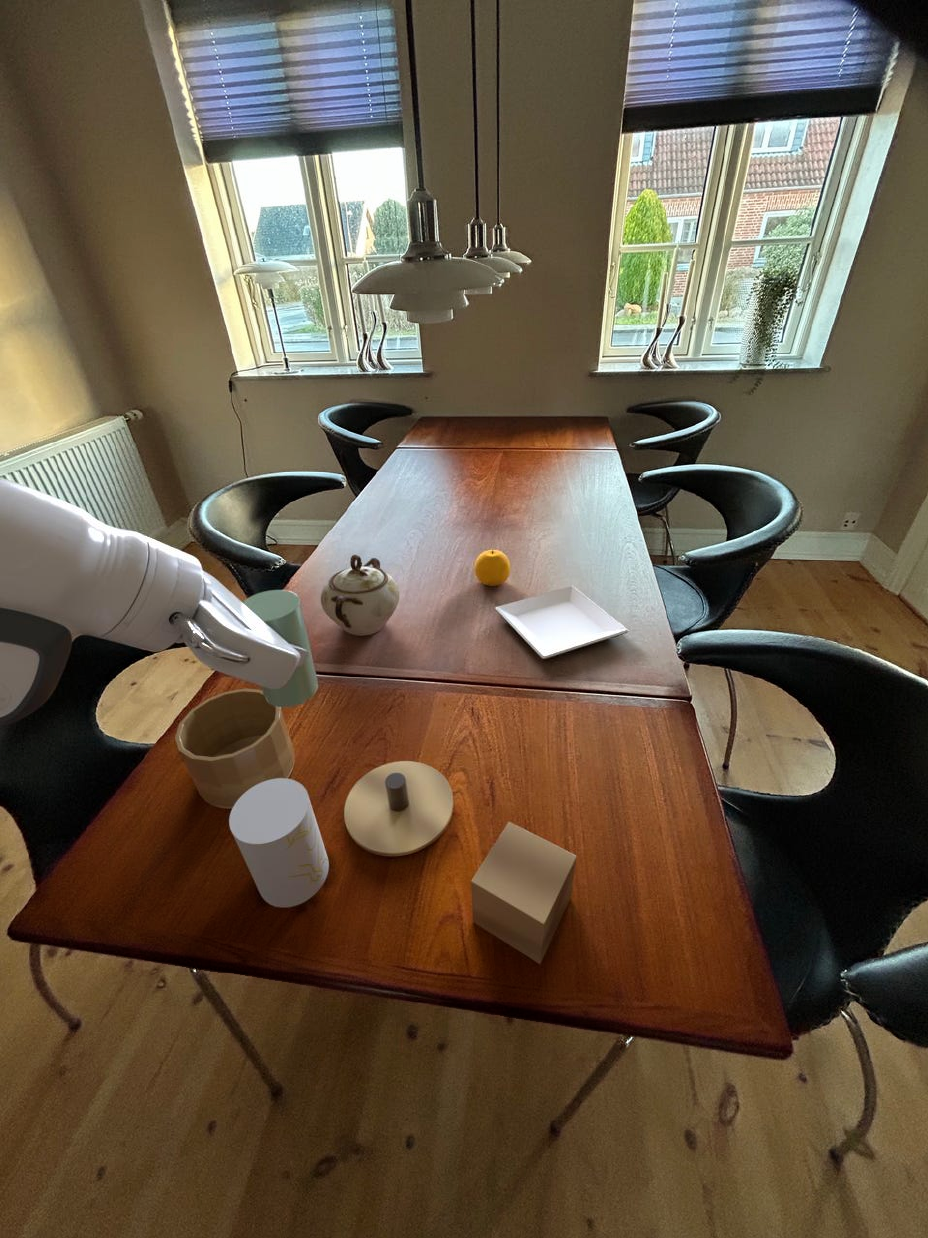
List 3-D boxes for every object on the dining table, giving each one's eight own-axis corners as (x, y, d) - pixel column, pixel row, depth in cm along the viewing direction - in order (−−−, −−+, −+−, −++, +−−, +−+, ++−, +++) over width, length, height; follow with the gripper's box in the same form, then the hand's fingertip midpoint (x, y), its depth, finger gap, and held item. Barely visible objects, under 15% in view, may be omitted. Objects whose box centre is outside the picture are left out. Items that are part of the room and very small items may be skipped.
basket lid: (410, 880, 61) (405, 852, 58) (322, 825, 68) (313, 797, 65) (474, 793, 71) (473, 765, 68) (391, 752, 78) (387, 724, 75)
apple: (471, 588, 116) (470, 558, 112) (478, 571, 123) (478, 542, 118) (507, 592, 115) (507, 561, 110) (512, 574, 121) (513, 544, 117)
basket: (239, 825, 68) (218, 776, 63) (178, 782, 75) (154, 734, 69) (313, 757, 78) (300, 709, 72) (254, 724, 84) (237, 678, 78)
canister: (289, 714, 55) (265, 627, 49) (252, 695, 57) (225, 610, 51) (329, 683, 59) (312, 599, 53) (293, 666, 62) (272, 584, 55)
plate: (542, 667, 93) (543, 658, 92) (494, 615, 107) (494, 606, 106) (628, 639, 99) (630, 629, 98) (572, 593, 113) (573, 584, 112)
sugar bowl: (350, 595, 116) (339, 532, 107) (415, 601, 113) (409, 537, 104) (308, 648, 100) (291, 579, 92) (383, 657, 97) (372, 587, 88)
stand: (540, 964, 54) (544, 924, 49) (472, 922, 57) (470, 881, 53) (571, 897, 59) (577, 856, 55) (507, 862, 63) (508, 821, 58)
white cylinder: (319, 907, 59) (297, 843, 53) (248, 907, 59) (216, 844, 53) (335, 841, 66) (317, 777, 59) (271, 842, 66) (245, 778, 60)
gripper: (221, 611, 38) (355, 659, 49) (135, 528, 50) (257, 581, 61) (177, 688, 38) (321, 718, 49) (102, 585, 50) (229, 628, 61)
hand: (284, 641), depth 55 cm, fingers closed on canister, 6 cm apart
